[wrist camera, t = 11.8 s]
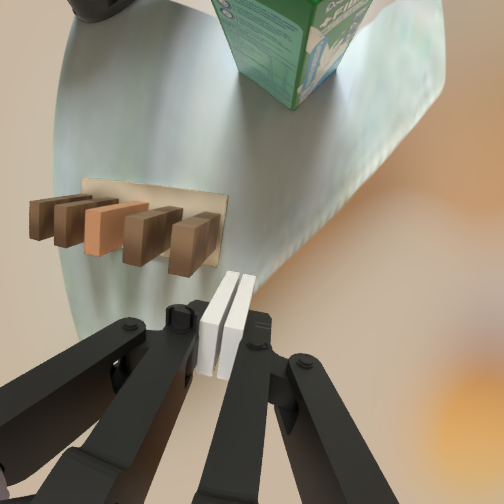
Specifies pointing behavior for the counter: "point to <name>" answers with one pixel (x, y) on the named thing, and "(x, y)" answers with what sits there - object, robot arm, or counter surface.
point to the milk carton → (289, 41)
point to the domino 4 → (192, 243)
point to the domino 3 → (148, 234)
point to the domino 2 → (74, 220)
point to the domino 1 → (47, 215)
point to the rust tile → (108, 226)
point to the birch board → (163, 202)
